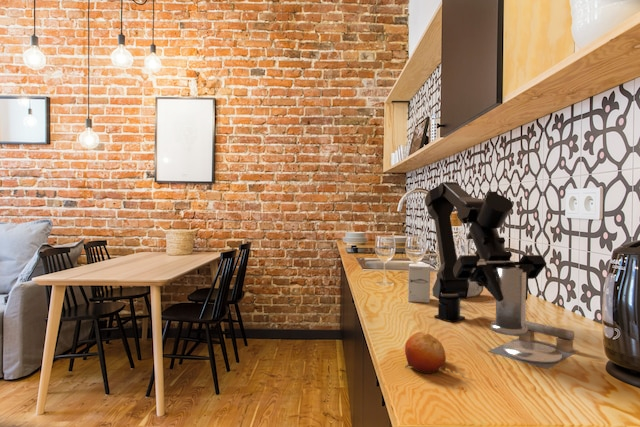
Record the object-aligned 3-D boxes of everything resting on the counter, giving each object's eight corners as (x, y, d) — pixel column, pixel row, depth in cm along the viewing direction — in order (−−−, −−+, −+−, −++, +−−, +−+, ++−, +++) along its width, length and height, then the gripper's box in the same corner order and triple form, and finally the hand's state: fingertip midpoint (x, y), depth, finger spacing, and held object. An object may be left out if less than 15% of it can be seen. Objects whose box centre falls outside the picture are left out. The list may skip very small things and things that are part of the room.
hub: (496, 323, 86) (496, 264, 86) (531, 329, 81) (532, 268, 81) (486, 330, 81) (486, 268, 80) (522, 338, 76) (523, 272, 76)
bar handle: (517, 339, 91) (517, 320, 91) (522, 337, 93) (522, 318, 93) (570, 353, 83) (570, 332, 83) (574, 350, 84) (574, 330, 84)
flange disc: (517, 341, 90) (517, 338, 90) (570, 355, 81) (570, 351, 81) (493, 352, 83) (493, 348, 83) (548, 368, 75) (548, 364, 75)
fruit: (407, 349, 84) (425, 321, 82) (437, 376, 80) (457, 348, 77) (388, 360, 78) (407, 330, 75) (420, 390, 74) (441, 360, 71)
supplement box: (407, 302, 135) (407, 265, 134) (409, 297, 142) (409, 262, 142) (429, 303, 132) (429, 266, 132) (430, 298, 139) (430, 263, 139)
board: (521, 341, 94) (521, 336, 94) (578, 355, 84) (578, 350, 84) (487, 356, 84) (487, 351, 84) (547, 375, 74) (547, 369, 74)
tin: (478, 294, 147) (478, 272, 147) (485, 296, 144) (485, 273, 144) (449, 298, 140) (449, 275, 140) (456, 300, 137) (456, 276, 137)
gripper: (512, 262, 97) (539, 319, 86) (439, 262, 96) (457, 320, 85) (532, 233, 89) (564, 291, 78) (452, 233, 88) (473, 292, 77)
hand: (512, 300), depth 80 cm, fingers closed on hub, 5 cm apart
